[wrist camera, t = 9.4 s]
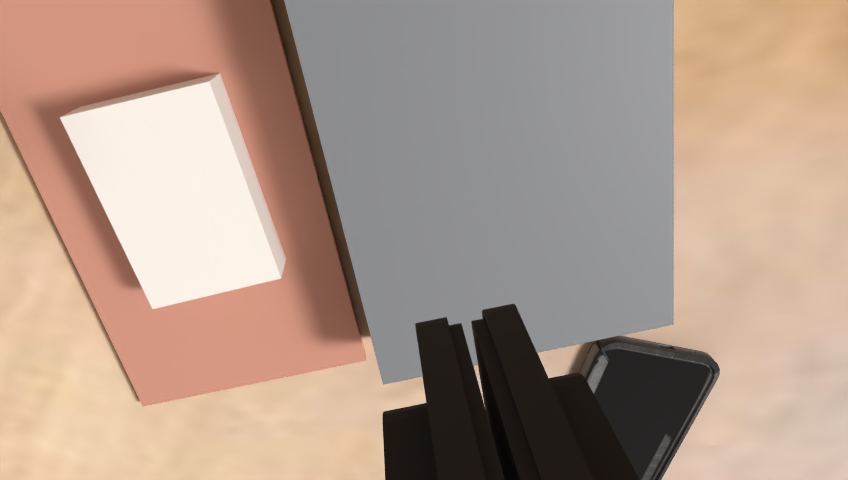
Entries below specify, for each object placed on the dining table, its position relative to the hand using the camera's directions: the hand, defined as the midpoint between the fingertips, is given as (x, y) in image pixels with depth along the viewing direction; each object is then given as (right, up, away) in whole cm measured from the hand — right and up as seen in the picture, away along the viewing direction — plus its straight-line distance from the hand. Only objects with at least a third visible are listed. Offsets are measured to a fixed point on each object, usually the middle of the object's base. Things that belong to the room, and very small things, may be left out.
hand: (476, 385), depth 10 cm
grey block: (+2, +8, +17) cm, 19 cm away
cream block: (-11, +4, +15) cm, 19 cm away
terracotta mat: (-12, +6, +17) cm, 22 cm away
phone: (+10, -10, +27) cm, 31 cm away
